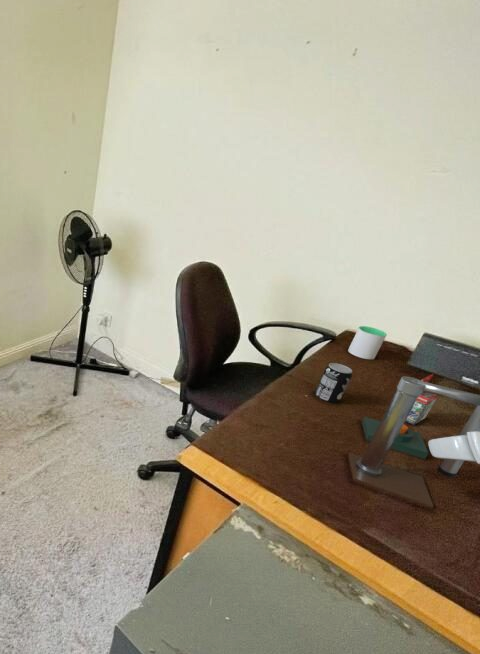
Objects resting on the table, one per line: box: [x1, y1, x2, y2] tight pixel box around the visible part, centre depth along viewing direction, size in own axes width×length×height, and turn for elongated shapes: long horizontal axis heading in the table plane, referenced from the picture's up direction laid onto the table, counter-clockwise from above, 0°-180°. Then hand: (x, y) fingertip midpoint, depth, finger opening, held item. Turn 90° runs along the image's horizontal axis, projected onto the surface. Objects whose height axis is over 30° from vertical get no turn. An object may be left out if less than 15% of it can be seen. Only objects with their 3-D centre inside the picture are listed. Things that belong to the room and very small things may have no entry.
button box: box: [361, 416, 429, 460], centre depth 116 cm, size 12×10×4 cm
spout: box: [396, 376, 480, 479], centre depth 95 cm, size 16×4×21 cm, turn 54°
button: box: [399, 423, 409, 434], centre depth 115 cm, size 4×4×2 cm
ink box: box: [405, 373, 439, 426], centre depth 123 cm, size 4×8×15 cm, turn 116°
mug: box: [347, 325, 387, 360], centre depth 161 cm, size 12×8×10 cm
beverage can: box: [314, 362, 353, 404], centre depth 133 cm, size 7×7×12 cm
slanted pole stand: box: [347, 388, 434, 509], centre depth 98 cm, size 14×11×26 cm
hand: (454, 453), depth 94 cm, fingers closed on spout, 2 cm apart
